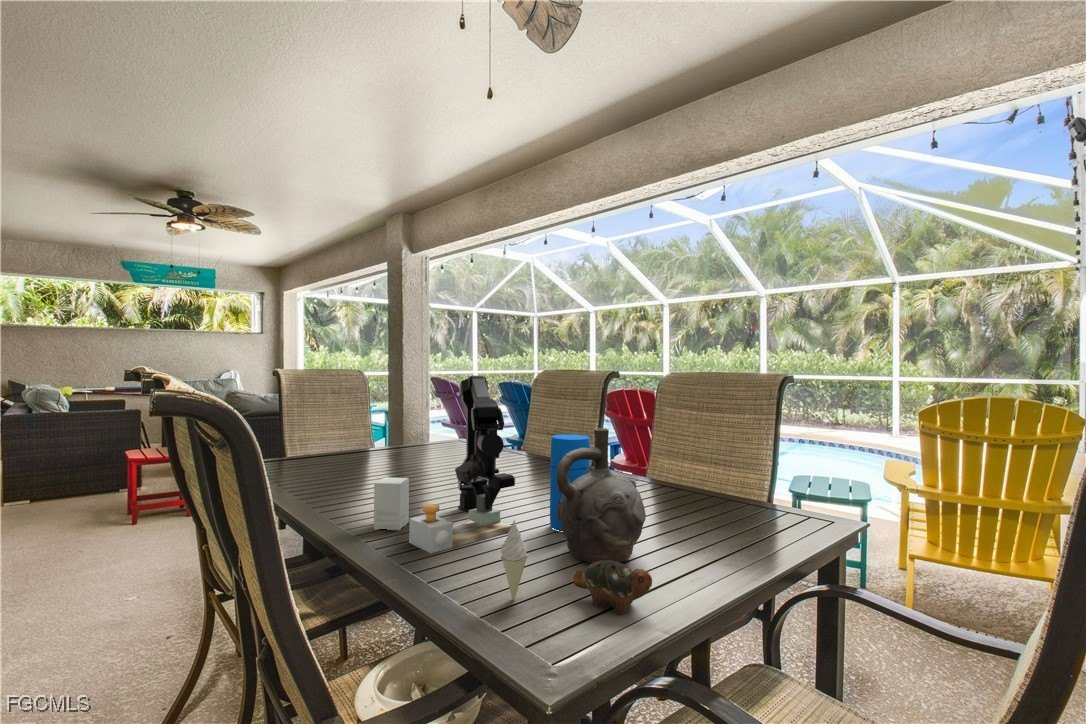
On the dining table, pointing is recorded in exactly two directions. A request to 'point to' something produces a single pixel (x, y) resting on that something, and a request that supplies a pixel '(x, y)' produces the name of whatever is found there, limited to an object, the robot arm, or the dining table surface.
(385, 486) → the supplement box
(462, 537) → the rail board
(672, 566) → the dining table surface
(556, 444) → the thermos
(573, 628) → the dining table surface
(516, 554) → the ice cream cone
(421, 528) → the gauge cabinet
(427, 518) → the button
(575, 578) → the decorative turtle
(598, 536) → the vessel
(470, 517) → the carriage
